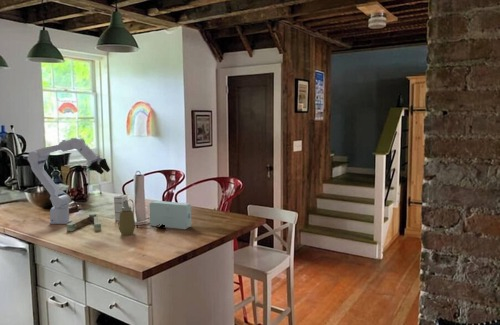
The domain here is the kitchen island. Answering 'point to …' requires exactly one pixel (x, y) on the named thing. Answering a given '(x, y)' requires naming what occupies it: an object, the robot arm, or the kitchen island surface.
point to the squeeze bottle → (126, 220)
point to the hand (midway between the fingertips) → (105, 172)
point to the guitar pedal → (170, 214)
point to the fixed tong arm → (95, 222)
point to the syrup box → (119, 205)
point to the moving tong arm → (78, 223)
